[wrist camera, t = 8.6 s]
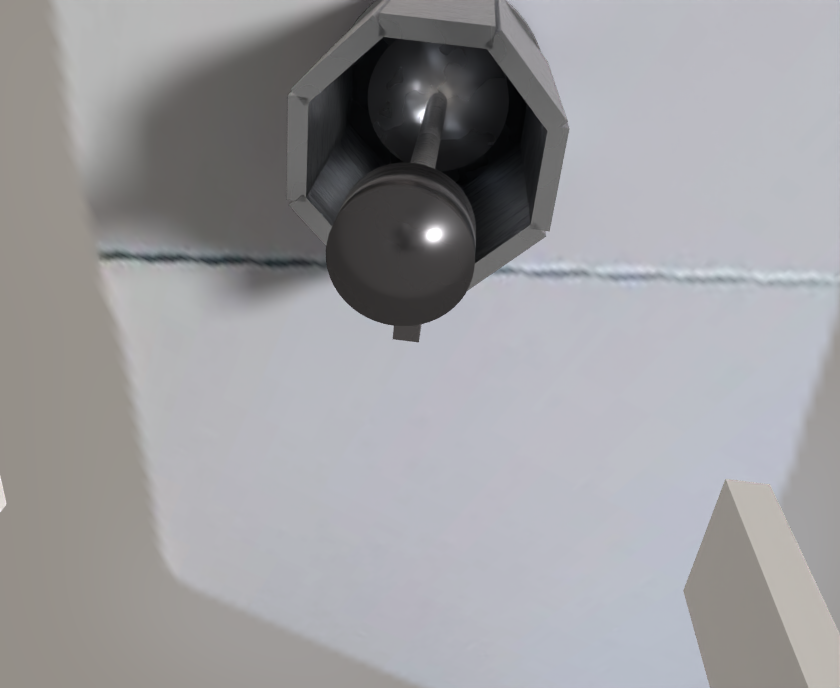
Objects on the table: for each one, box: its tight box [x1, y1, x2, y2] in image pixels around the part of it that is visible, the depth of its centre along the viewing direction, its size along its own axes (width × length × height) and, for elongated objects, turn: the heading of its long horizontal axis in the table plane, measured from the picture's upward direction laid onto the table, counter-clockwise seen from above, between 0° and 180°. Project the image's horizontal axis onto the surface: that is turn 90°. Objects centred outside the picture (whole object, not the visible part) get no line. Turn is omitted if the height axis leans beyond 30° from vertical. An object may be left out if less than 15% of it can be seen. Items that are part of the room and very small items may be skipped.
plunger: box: [326, 39, 509, 326], centre depth 32 cm, size 7×7×21 cm
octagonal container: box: [286, 0, 569, 342], centre depth 38 cm, size 14×11×13 cm
